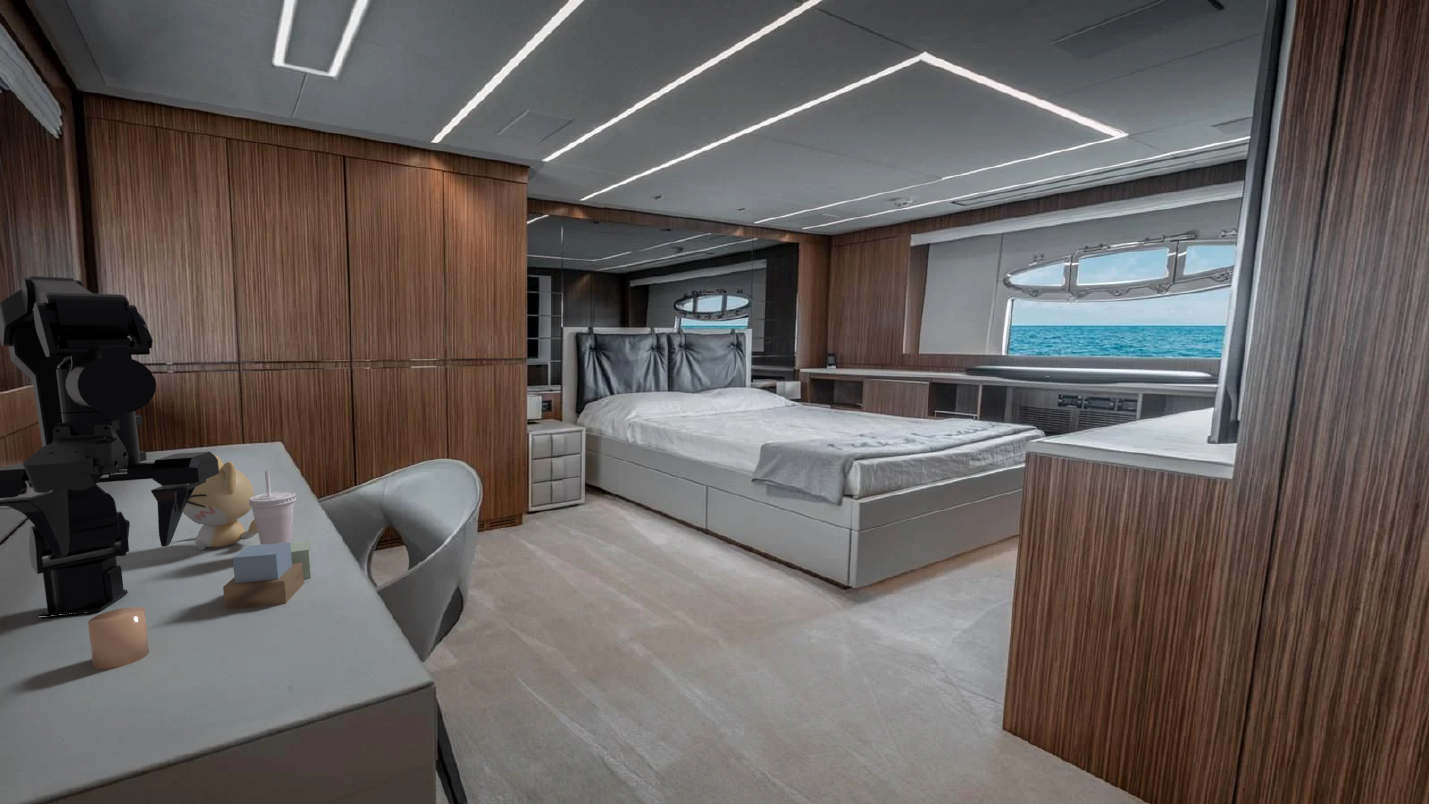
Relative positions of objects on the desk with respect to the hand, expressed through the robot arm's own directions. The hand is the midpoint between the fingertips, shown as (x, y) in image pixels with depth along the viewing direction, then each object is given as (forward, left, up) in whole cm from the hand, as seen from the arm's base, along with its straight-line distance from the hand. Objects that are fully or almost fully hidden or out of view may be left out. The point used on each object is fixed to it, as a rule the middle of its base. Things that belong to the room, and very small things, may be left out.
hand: (115, 550), depth 70 cm
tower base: (+9, +15, -13) cm, 21 cm away
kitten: (-7, +42, -13) cm, 44 cm away
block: (+10, +22, -12) cm, 27 cm away
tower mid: (+9, +15, -9) cm, 19 cm away
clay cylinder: (0, 0, -12) cm, 12 cm away
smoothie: (+4, +34, -13) cm, 36 cm away
